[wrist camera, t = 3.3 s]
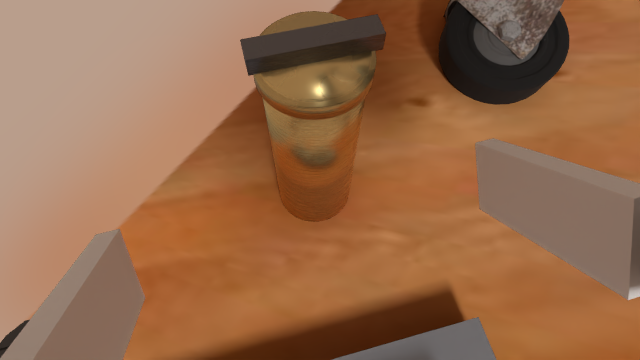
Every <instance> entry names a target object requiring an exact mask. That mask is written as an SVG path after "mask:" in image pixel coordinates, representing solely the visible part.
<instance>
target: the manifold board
mask: <svg viewBox="0 0 640 360" xmlns="http://www.w3.org/2000/svg"><path fill="white" fill-rule="evenodd" d="M332 360H496V358H495V356H494V353H493V351H492V348H491V346H490V344H489V341H488V339H487V337H486V334H485V332H484V329H483V327H482V325H481V322H480V320H479V317H477V318H474V319H470V320H467V321H463V322H460V323H456V324H453V325H449V326H446V327H443V328H439V329H436V330H432V331H429V332H425V333H422V334H418V335H415V336H412V337H408V338H405V339H401V340H398V341H394V342H391V343H387V344H384V345H380V346H377V347H374V348H370V349H367V350H363V351H360V352H356V353H353V354H349V355H346V356H342V357H339V358H336V359H332Z"/></svg>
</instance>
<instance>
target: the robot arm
mask: <svg viewBox="0 0 640 360" xmlns="http://www.w3.org/2000/svg"><path fill="white" fill-rule="evenodd" d="M475 147H476V162H477V176H478V191H479V206H480V210H482V211H484V212H485V213H487V214H489V215H490V216H492V217H493V218H495V219H497V220H498V221H500V222H502V223H503V224H505V225H507V226H508V227H510V228H511V229H513V230H515V231H516V232H518V233H520V234H521V235H523V236H525V237H526V238H528V239H529V240H531V241H533V242H534V243H536V244H538V245H539V246H541V247H543V248H544V249H546V250H547V251H549V252H551V253H552V254H554V255H556V256H557V257H559V258H560V259H562V260H564V261H565V262H567V263H569V264H570V265H572V266H574V267H575V268H577V269H578V270H580V271H582V272H583V273H585V274H587V275H588V276H590V277H592V278H593V279H595V280H596V281H598V282H600V283H601V284H603V285H605V286H606V287H608V288H609V289H611V290H613V291H614V292H616V293H618V294H619V295H621V296H623V297H624V298H626V299H627V300H630V299H633V298H636V297H640V184H639V183H636V182H633V181H630V180H627V179H623V178H620V177H617V176H614V175H610V174H607V173H604V172H601V171H597V170H594V169H591V168H588V167H584V166H581V165H578V164H575V163H571V162H568V161H565V160H562V159H559V158H555V157H552V156H549V155H546V154H542V153H539V152H536V151H533V150H529V149H526V148H523V147H520V146H516V145H513V144H510V143H507V142H503V141H500V140H497V139H494V138H493V139H489V140H485V141H481V142H477V143H475ZM144 300H145V296H144V294H143V291H142V288H141V285H140V283H139V280H138V277H137V275H136V272H135V269H134V267H133V264H132V261H131V259H130V256H129V253H128V250H127V248H126V245H125V242H124V240H123V237H122V234H121V232H120V229H117V230H113V231H109V232H105V233H101V234H97V235H95V237H94V238H93V239H92V240H91V242H90V243H89V244H88V246H87V247H86V248H85V249H84V251H83V252H82V253H81V255H80V256H79V257H78V258H77V260H76V261H75V262H74V264H73V265H72V266H71V267H70V269H69V270H68V271H67V273H66V274H65V275H64V277H63V278H62V279H61V280H60V282H59V283H58V284H57V286H56V287H55V288H54V289H53V291H52V292H51V293H50V295H49V296H48V297H47V298H46V300H45V301H44V302H43V304H42V305H41V306H40V308H39V309H38V310H37V311H36V313H35V314H34V315H33V317H32V318H31V319H30V320H27V321H24V322H23V323H22V324H20V325H19V326H18V327H17V328H15V329H14V330H13V331H12V332H10V333H9V334H8V335H6V337H5V338H4V339H3V340H2V342H1V343H0V360H123V357H124V354H125V352H126V349H127V346H128V344H129V341H130V338H131V335H132V333H133V330H134V327H135V324H136V322H137V319H138V316H139V313H140V311H141V308H142V305H143V302H144Z"/></svg>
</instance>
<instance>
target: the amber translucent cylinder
mask: <svg viewBox="0 0 640 360" xmlns="http://www.w3.org/2000/svg"><path fill="white" fill-rule="evenodd" d="M385 36H386V32H385V30H384V28H383V25H382V23H381V21H380V19H379V17H378V14H376V15H371V16H365V17H360V18H355V19H349V20H347V19H345V18H343V17H341V16H338V15H335V14H331V13H326V12H317V11H312V12H300V13H296V14H292V15H289V16H286V17H284V18H282V19H280V20H278V21H276V22H274V23H273V24H271V25H270V26H268V27H267V28H266V29H265V30H264V31H263V32H262V33H261V34H260V36H257V37H252V38H247V39H241V40H240V41H241V46H242V50H243V54H244V59H245V63H246V67H247V72H248V75H254V81H255V84H256V87H257V89H258V91H259V93H260V95H261V96H262V97H263V102H264V107H265V113H266V119H267V124H268V130H269V135H270V141H271V146H272V152H273V158H274V163H275V169H276V174H277V180H278V186H279V191H280V197H281V200H282V202H283V204H284V206H285V208H286V209H287V210H288V211H289V212H290V213H291V214H292V215H294V216H295V217H297V218H299V219H302V220H305V221H313V222H315V221H323V220H327V219H329V218H331V217H333V216H335V215H336V214H337V213H339V212H340V211H341V210H342V208H343V207H344V206H345V204H346V202H347V199H348V195H349V189H350V183H351V177H352V171H353V165H354V159H355V153H356V148H357V142H358V136H359V130H360V124H361V118H362V112H363V106H364V100H365V97H366V96H367V94H368V92H369V91H370V89H371V86H372V83H373V78H374V72H375V67H376V52H375V51H377V50H382V49H383V46H384V41H385Z"/></svg>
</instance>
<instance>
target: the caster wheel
mask: <svg viewBox="0 0 640 360" xmlns="http://www.w3.org/2000/svg"><path fill="white" fill-rule="evenodd" d="M563 1H564V0H450V1H449V4H448V6H447V9H446V11H445V14H444V16H446V25H445V27H444V30H443V32H442V35H441V38H440V42H439V59H440V64H441V66H442V69H443V71H444V73H445V75H446V77H447V78H448V80H449V81H450V82H451V83H452V84H453V85H454V87H455V88H457V89H458V90H459V91H460V92H462V93H463V94H464V95H466V96H468V97H470V98H472V99H474V100H477V101H480V102H483V103H489V104H510V103H515V102H518V101H521V100H523V99H526V98H528V97H529V96H531V95H532V94H534V93H535V92H536V91H538V90H539V89H540V88H541V87H542V86H543V85H544V84H545V83H546V82H547V81H549V80H550V79H551V78H552V77H553V76H554V75H555V74H556V73H557V72H558V71H559V69H560V68H561V66H562V64H563V63H564V61H565V59H566V56H567V53H568V49H569V33H568V28H567V25H566V22H565V19H564V17H563V16H562V14H561V12H560V11H559V10H560V8H561V6H562V3H563ZM444 16H443V17H444Z"/></svg>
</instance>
